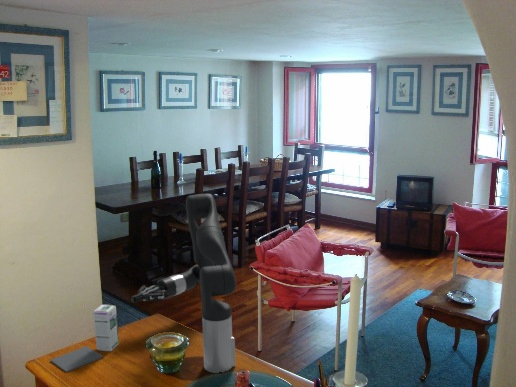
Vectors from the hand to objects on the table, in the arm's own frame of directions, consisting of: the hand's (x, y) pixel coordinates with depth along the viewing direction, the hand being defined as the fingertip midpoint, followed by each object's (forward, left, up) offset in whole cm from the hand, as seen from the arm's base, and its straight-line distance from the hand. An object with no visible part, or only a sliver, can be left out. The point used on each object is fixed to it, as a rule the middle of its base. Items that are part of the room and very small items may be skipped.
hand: (132, 299), depth 189 cm
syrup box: (+11, +3, -14) cm, 18 cm away
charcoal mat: (+22, +6, -14) cm, 27 cm away
